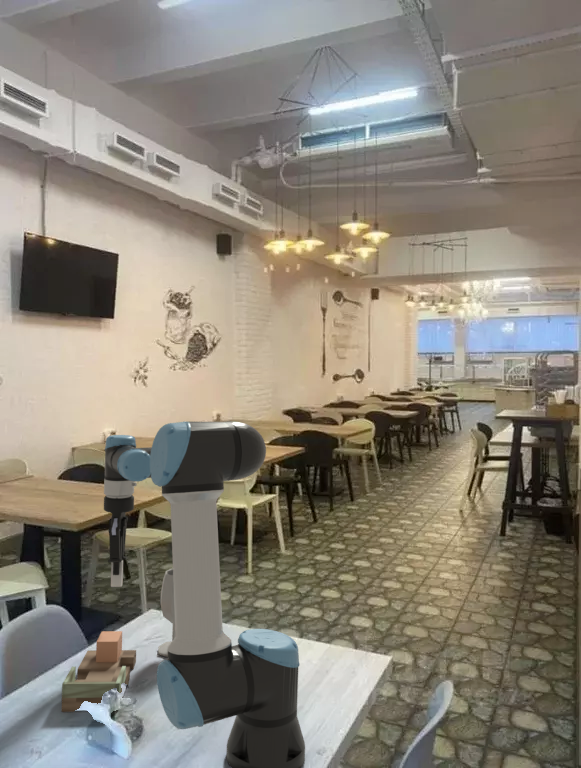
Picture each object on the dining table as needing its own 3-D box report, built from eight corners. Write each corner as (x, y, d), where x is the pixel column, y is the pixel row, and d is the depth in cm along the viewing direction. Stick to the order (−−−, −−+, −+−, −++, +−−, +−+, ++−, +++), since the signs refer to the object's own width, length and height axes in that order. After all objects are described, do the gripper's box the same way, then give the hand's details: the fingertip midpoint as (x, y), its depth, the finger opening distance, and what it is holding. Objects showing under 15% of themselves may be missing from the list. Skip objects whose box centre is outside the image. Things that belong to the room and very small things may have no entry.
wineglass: (194, 645, 168) (196, 567, 168) (186, 659, 159) (188, 578, 159) (163, 642, 169) (165, 565, 168) (153, 657, 160) (155, 576, 160)
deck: (118, 710, 134) (119, 683, 134) (61, 711, 133) (62, 684, 133) (135, 661, 157) (136, 638, 157) (87, 662, 156) (87, 638, 156)
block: (117, 662, 150) (117, 641, 150) (96, 662, 150) (96, 641, 150) (121, 651, 156) (122, 631, 156) (101, 651, 156) (101, 631, 156)
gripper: (129, 500, 154) (126, 595, 155) (137, 490, 167) (135, 577, 168) (98, 500, 154) (96, 594, 154) (109, 490, 167) (107, 577, 167)
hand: (116, 585), depth 161 cm, fingers closed
